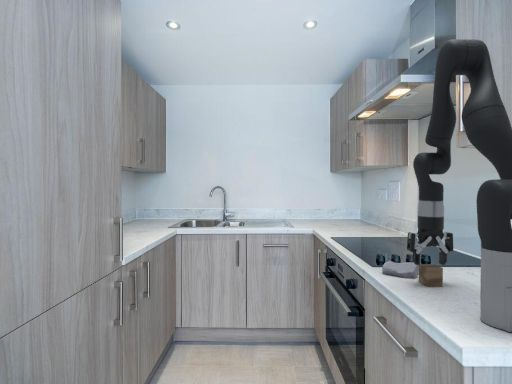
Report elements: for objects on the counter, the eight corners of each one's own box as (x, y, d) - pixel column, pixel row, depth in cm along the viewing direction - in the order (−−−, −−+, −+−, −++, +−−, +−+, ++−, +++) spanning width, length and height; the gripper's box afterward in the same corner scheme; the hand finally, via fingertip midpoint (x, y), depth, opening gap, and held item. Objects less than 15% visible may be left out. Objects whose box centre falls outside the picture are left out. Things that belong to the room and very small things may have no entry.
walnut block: (442, 286, 103) (442, 267, 103) (427, 287, 102) (427, 268, 102) (433, 282, 108) (433, 264, 108) (418, 282, 107) (418, 264, 107)
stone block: (417, 285, 111) (419, 272, 119) (416, 271, 110) (418, 260, 119) (380, 281, 117) (385, 269, 125) (379, 268, 116) (384, 257, 125)
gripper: (415, 216, 100) (414, 268, 101) (459, 215, 101) (458, 267, 102) (403, 213, 108) (402, 262, 109) (444, 213, 109) (443, 261, 110)
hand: (429, 264), depth 105 cm, fingers open, 8 cm apart
